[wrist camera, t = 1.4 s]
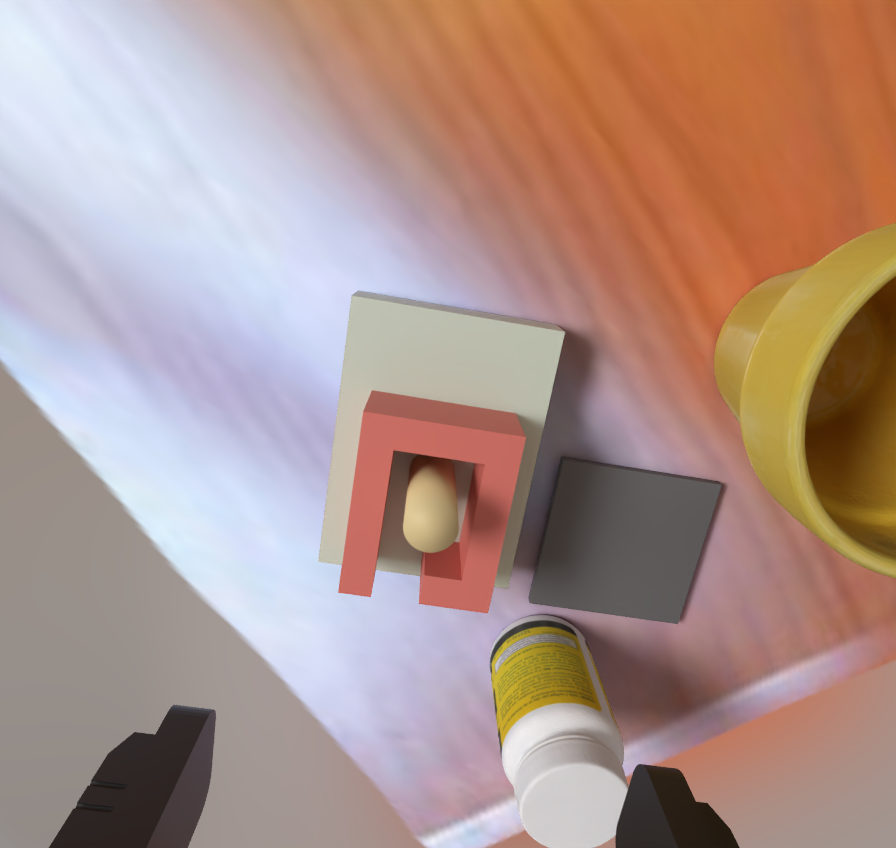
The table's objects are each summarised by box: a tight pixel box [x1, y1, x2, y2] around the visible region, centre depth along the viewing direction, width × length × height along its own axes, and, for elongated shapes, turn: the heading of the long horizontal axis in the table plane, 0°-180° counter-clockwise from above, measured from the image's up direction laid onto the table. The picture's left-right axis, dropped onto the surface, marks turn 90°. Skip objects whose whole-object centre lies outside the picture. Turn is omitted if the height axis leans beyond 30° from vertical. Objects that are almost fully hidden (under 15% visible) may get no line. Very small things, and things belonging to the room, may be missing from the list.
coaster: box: [529, 457, 722, 624], centre depth 28 cm, size 7×7×1 cm
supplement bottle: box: [490, 615, 629, 848], centre depth 26 cm, size 5×5×8 cm
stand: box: [318, 291, 565, 589], centre depth 24 cm, size 11×8×7 cm
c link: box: [338, 390, 526, 613], centre depth 24 cm, size 7×6×3 cm
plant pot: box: [714, 223, 896, 578], centre depth 21 cm, size 10×10×10 cm
